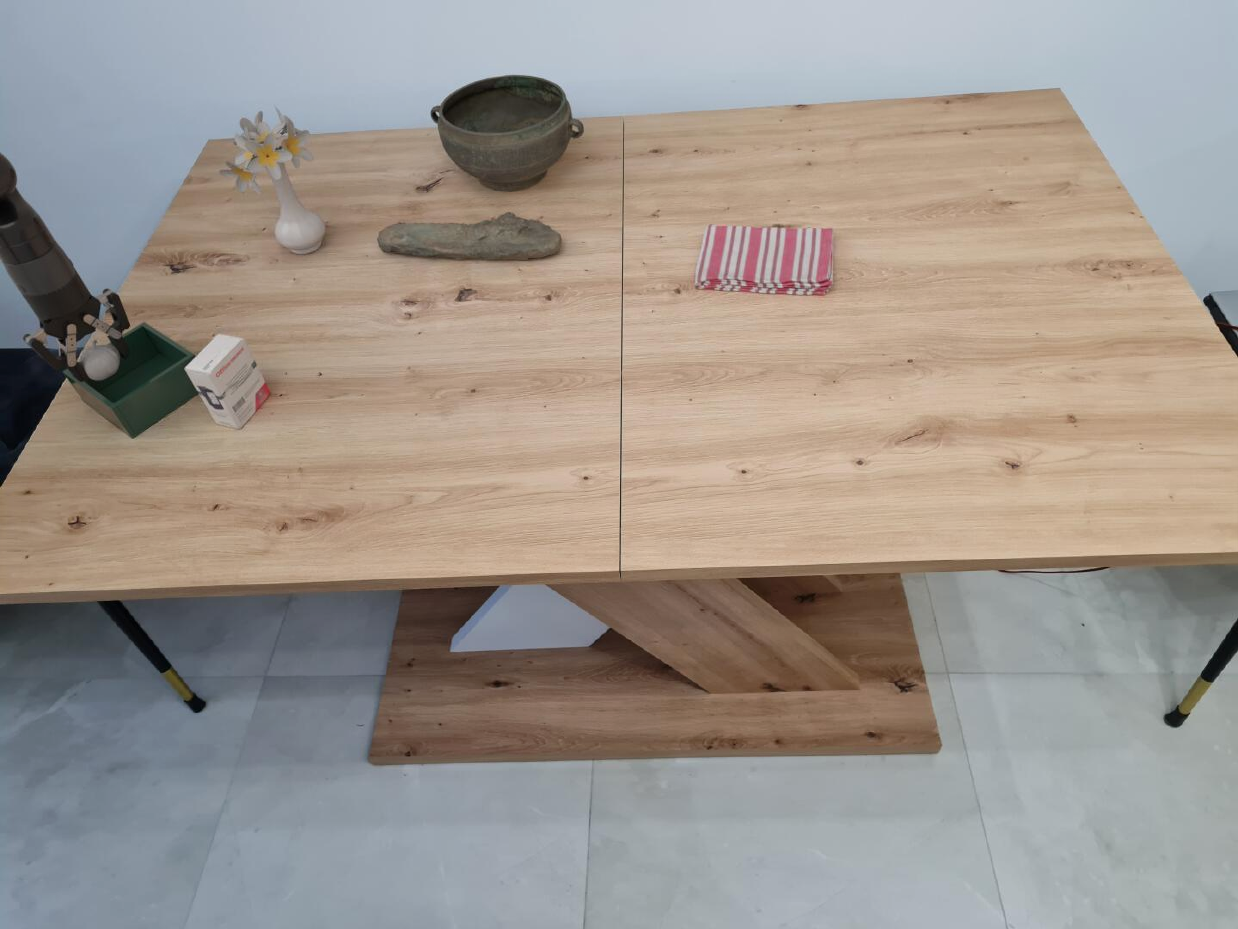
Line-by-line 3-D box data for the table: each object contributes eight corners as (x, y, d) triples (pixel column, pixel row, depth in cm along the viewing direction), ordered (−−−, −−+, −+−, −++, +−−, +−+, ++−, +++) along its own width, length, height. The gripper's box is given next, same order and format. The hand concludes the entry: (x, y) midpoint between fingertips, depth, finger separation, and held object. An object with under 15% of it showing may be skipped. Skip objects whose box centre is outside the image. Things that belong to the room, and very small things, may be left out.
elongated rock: (392, 234, 174) (376, 268, 168) (383, 211, 170) (366, 245, 164) (567, 231, 167) (557, 266, 161) (562, 207, 163) (552, 242, 157)
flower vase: (254, 276, 166) (198, 150, 147) (293, 219, 178) (245, 96, 159) (321, 278, 164) (272, 151, 145) (355, 220, 176) (314, 96, 157)
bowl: (608, 147, 188) (602, 76, 177) (566, 216, 172) (557, 143, 160) (467, 134, 196) (453, 65, 185) (415, 199, 180) (396, 128, 168)
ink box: (247, 387, 145) (217, 330, 136) (272, 393, 144) (244, 336, 135) (214, 424, 140) (181, 367, 131) (240, 430, 138) (209, 373, 130)
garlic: (107, 356, 140) (90, 330, 136) (134, 363, 138) (118, 336, 134) (79, 382, 136) (61, 356, 132) (107, 389, 134) (90, 362, 131)
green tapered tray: (132, 439, 139) (111, 408, 134) (83, 401, 145) (62, 371, 141) (211, 385, 146) (194, 354, 141) (161, 351, 153) (144, 321, 148)
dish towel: (832, 297, 150) (834, 280, 147) (692, 290, 154) (692, 273, 151) (833, 238, 161) (835, 221, 159) (703, 233, 165) (703, 216, 162)
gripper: (79, 243, 129) (134, 334, 142) (-18, 294, 122) (49, 385, 135) (107, 259, 126) (160, 351, 138) (9, 313, 119) (74, 405, 131)
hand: (105, 368), depth 137 cm, fingers closed on garlic, 6 cm apart
